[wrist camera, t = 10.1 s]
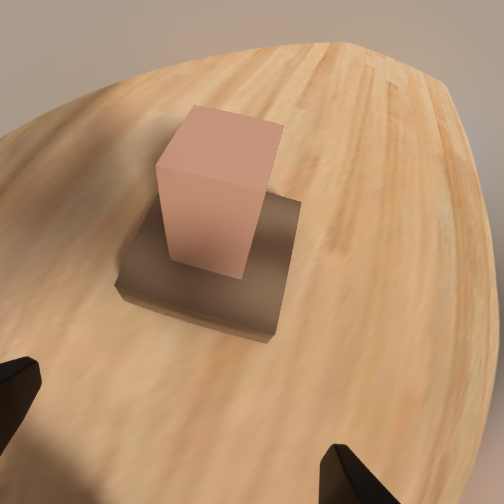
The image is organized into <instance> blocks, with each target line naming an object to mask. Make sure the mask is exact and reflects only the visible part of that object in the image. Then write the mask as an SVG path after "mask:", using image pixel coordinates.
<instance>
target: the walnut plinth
mask: <svg viewBox="0 0 504 504" xmlns="http://www.w3.org/2000/svg"><path fill="white" fill-rule="evenodd" d="M300 207H301V202H299V201H296V200H293V199H289V198H286V197H282V196H279V195H275V194H272V193H268V192H266V193H265V197H264V201H263V204H262V208H261V211H260V215H259V219H258V222H257V226H256V229H255V233H254V236H253V240H252V244H251V247H250V251H249V254H248V258H247V262H246V265H245V269H244V272H243V276H242V279H241V280H240V279H237V278H233V277H229V276H226V275H222V274H218V273H215V272H211V271H208V270H204V269H201V268H197V267H193V266H190V265H186V264H183V263H179V262H176V261H172V260H170V255H169V250H168V245H167V239H166V233H165V227H164V221H163V215H162V209H161V203H160V196H159V193H158V195H157V197H156V199H155V201H154V203H153V205H152V206H151V208H150V210H149V212H148V214H147V216H146V218H145V220H144V222H143V224H142V226H141V228H140V230H139V232H138V234H137V236H136V239H135V241H134V243H133V245H132V247H131V249H130V251H129V253H128V255H127V258H126V260H125V262H124V264H123V266H122V269H121V271H120V273H119V275H118V278H117V280H116V282H115V285H114V286H115V287H116V289H117V290H118V292H119V293H120V295H121V296H122V298H123V299H124V301H127V302H129V303H132V304H135V305H138V306H141V307H144V308H147V309H150V310H153V311H156V312H159V313H162V314H165V315H168V316H171V317H174V318H177V319H181V320H184V321H187V322H190V323H194V324H197V325H200V326H204V327H207V328H210V329H214V330H217V331H221V332H225V333H228V334H232V335H235V336H239V337H243V338H247V339H250V340H254V341H258V342H262V343H266V344H267V342H268V341H269V340H270V339H271V338H272V337H273V336H274V335H275V332H276V328H277V323H278V319H279V314H280V309H281V305H282V300H283V295H284V290H285V285H286V280H287V275H288V270H289V265H290V260H291V255H292V250H293V245H294V239H295V234H296V229H297V223H298V218H299V212H300Z"/></svg>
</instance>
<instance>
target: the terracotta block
mask: <svg viewBox="0 0 504 504" xmlns="http://www.w3.org/2000/svg"><path fill="white" fill-rule="evenodd" d="M283 127H284V125H280V124H276V123H272V122H269V121H265V120H261V119H257V118H253V117H248V116H244V115H240V114H235V113H231V112H226V111H221V110H216V109H211V108H206V107H201V106H196V105H194V106H193V108H192V109H191V111H190V112H189V113H188V115H187V116H186V118H185V119H184V121H183V122H182V124H181V125H180V127H179V128H178V130H177V131H176V133H175V135H174V136H173V138H172V139H171V141H170V142H169V144H168V146H167V147H166V149H165V150H164V152H163V154H162V155H161V157H160V158H159V160H158V162H157V163H156V165H155V167H156V175H157V182H158V189H159V196H160V203H161V209H162V215H163V221H164V227H165V233H166V239H167V245H168V250H169V255H170V260H172V261H176V262H179V263H183V264H186V265H190V266H193V267H197V268H201V269H204V270H208V271H211V272H215V273H218V274H222V275H226V276H229V277H233V278H237V279H240V280H241V279H242V276H243V272H244V269H245V265H246V262H247V258H248V254H249V251H250V247H251V244H252V240H253V236H254V233H255V229H256V226H257V222H258V219H259V215H260V211H261V208H262V204H263V201H264V197H265V193H266V190H267V186H268V182H269V179H270V175H271V171H272V168H273V164H274V160H275V156H276V153H277V149H278V145H279V142H280V138H281V134H282V130H283Z"/></svg>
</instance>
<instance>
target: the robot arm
mask: <svg viewBox="0 0 504 504" xmlns="http://www.w3.org/2000/svg"><path fill="white" fill-rule="evenodd" d="M41 384H42V379H41V374H40V368H39V364H38V362H37V361H36V360H34V359H32V358H30V357H28V356H26V357H22V358H18V359H15V360H11V361H8V362H4V363H0V456H1V454H2V453H3V451H4V449H5V448H6V446H7V445H8V443H9V441H10V440H11V438H12V437H13V435H14V434H15V432H16V431H17V429H18V428H19V426H20V425H21V423H22V421H23V419H24V418H25V416H26V414H27V412H28V410H29V408H30V406H31V404H32V402H33V400H34V399H35V397H36V395H37V393H38V391H39V389H40V387H41ZM319 504H401V503H400V502H399V501H398V500H397V499H396V498H395V497H394V496H393V495H392V494H391V493H390V492H389V491H388V490H387V489H386V488H385V487H384V486H383V485H382V483H381V482H380V481H379V480H378V479H377V478H376V477H375V476H374V475H373V474H372V473H371V472H370V470H369V469H368V468H367V467H366V466H365V465H364V464H363V463H362V462H361V461H360V459H359V458H358V457H357V456H356V455H355V454H354V453H353V452H352V451H351V449H350V448H349V447H348V446H347V445H345V444H332V445H331V446H330V448H329V449H328V451H327V452H326V454H325V455H324V457H323V458H322V460H321V463H320V479H319Z"/></svg>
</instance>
